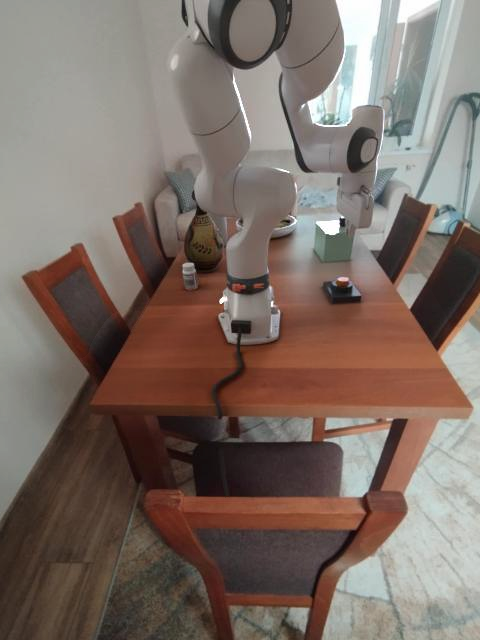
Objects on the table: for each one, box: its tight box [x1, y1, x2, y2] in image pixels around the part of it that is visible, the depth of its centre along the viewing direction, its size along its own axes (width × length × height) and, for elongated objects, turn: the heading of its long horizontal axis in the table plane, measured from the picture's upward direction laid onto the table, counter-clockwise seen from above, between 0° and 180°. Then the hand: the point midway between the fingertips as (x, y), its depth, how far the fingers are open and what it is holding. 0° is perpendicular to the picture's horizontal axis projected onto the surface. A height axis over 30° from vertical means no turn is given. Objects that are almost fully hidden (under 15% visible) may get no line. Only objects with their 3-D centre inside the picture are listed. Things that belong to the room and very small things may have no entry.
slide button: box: [338, 216, 346, 226], centre depth 129 cm, size 2×3×3 cm
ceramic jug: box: [183, 189, 225, 274], centre depth 122 cm, size 17×15×30 cm
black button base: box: [322, 278, 363, 305], centre depth 107 cm, size 12×9×4 cm
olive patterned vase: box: [193, 184, 229, 247], centre depth 146 cm, size 12×12×25 cm
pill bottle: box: [182, 262, 199, 291], centre depth 115 cm, size 5×5×8 cm
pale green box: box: [313, 220, 355, 263], centre depth 133 cm, size 18×11×11 cm, turn 4°
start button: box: [336, 276, 350, 286], centre depth 105 cm, size 4×4×2 cm
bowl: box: [235, 215, 297, 239], centre depth 164 cm, size 30×30×8 cm
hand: (349, 235), depth 96 cm, fingers closed
